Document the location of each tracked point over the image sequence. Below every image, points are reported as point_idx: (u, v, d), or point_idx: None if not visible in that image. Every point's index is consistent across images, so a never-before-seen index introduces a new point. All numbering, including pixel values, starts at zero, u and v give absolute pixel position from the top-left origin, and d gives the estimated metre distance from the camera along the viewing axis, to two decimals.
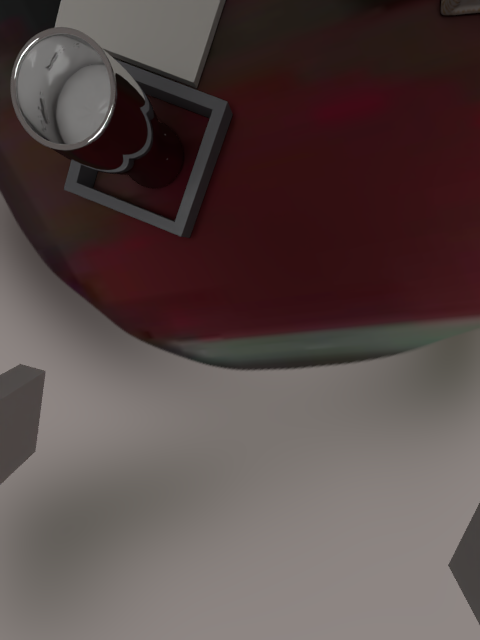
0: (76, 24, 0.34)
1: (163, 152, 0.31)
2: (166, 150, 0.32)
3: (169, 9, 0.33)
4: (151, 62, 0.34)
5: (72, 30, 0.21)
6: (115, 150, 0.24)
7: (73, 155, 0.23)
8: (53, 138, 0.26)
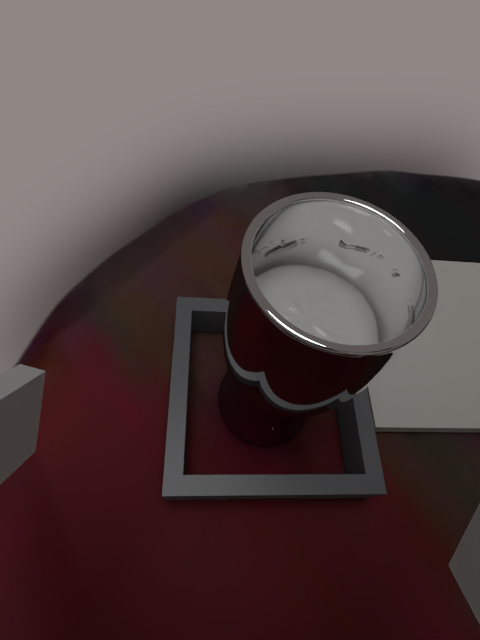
0: None
1: (281, 423, 0.20)
2: (284, 425, 0.20)
3: (429, 369, 0.26)
4: None
5: (430, 261, 0.13)
6: (276, 369, 0.13)
7: (241, 301, 0.12)
8: None
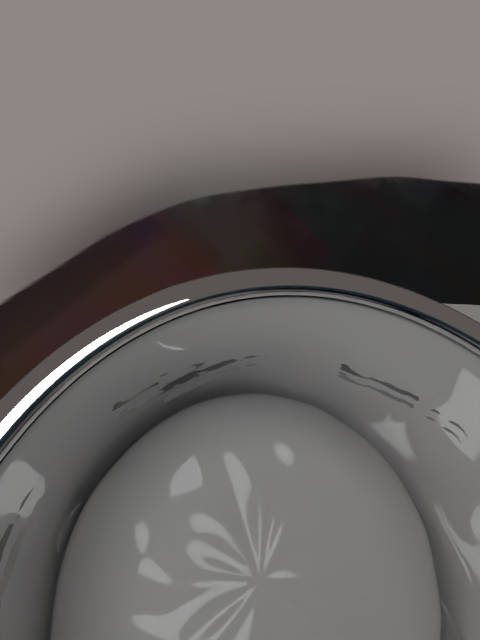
0: None
1: None
2: None
3: None
4: None
5: None
6: None
7: None
8: (109, 436, 0.06)
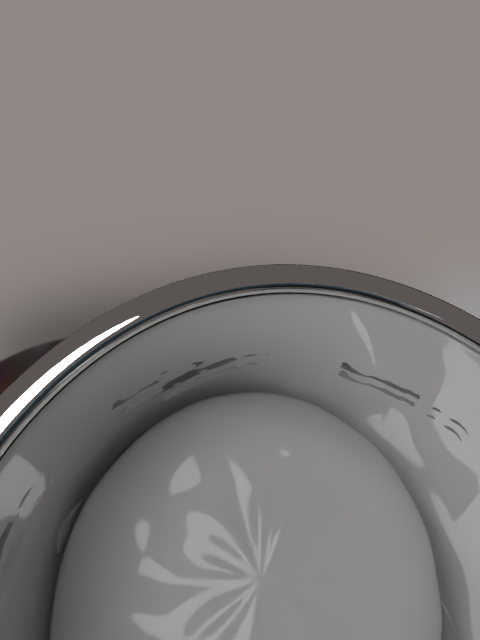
0: None
1: None
2: None
3: None
4: None
5: None
6: None
7: None
8: (109, 434, 0.06)
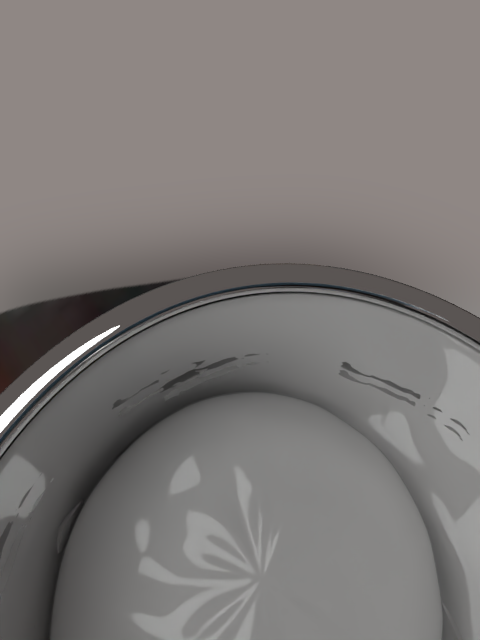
0: None
1: None
2: None
3: None
4: None
5: None
6: None
7: None
8: (109, 434, 0.06)
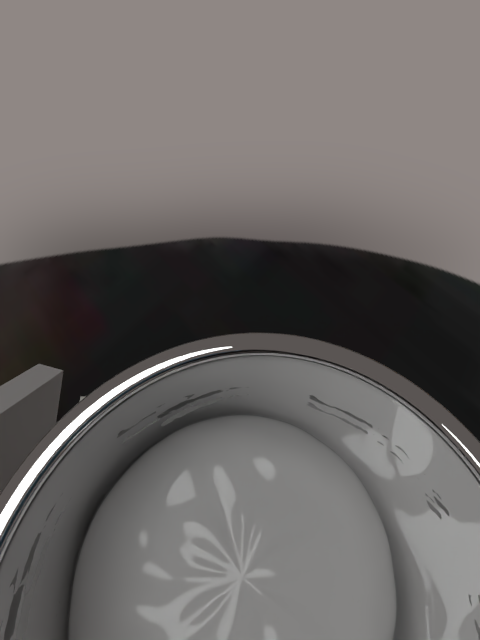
0: None
1: None
2: None
3: None
4: None
5: None
6: None
7: None
8: (115, 456, 0.07)
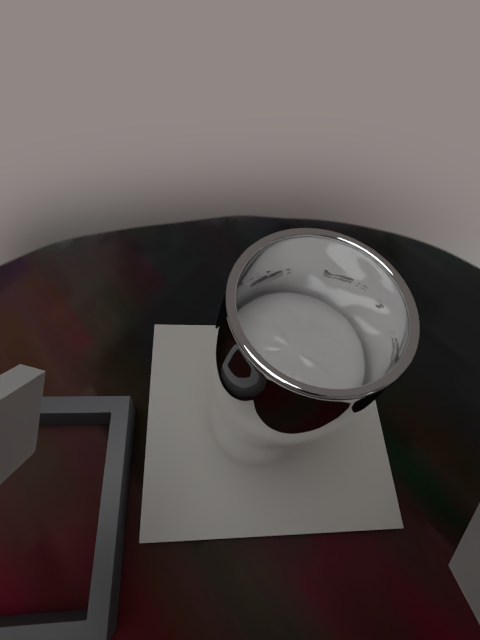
0: (168, 348, 0.27)
1: (273, 446, 0.20)
2: (276, 446, 0.21)
3: (221, 463, 0.24)
4: (150, 463, 0.23)
5: (411, 298, 0.13)
6: (263, 408, 0.13)
7: (227, 343, 0.12)
8: None
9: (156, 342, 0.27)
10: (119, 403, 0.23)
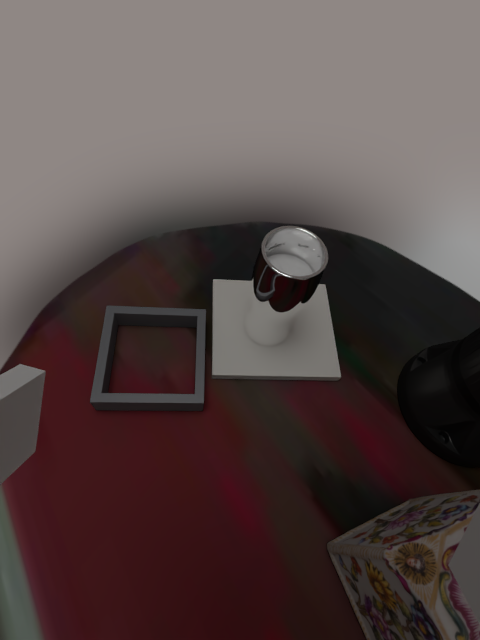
0: (221, 291, 0.51)
1: (276, 326, 0.43)
2: (278, 329, 0.44)
3: (250, 345, 0.47)
4: (215, 342, 0.47)
5: (326, 250, 0.36)
6: (273, 288, 0.36)
7: (261, 264, 0.36)
8: None
9: (214, 288, 0.51)
10: (201, 312, 0.46)
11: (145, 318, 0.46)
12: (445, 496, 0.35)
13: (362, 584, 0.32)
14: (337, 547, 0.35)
